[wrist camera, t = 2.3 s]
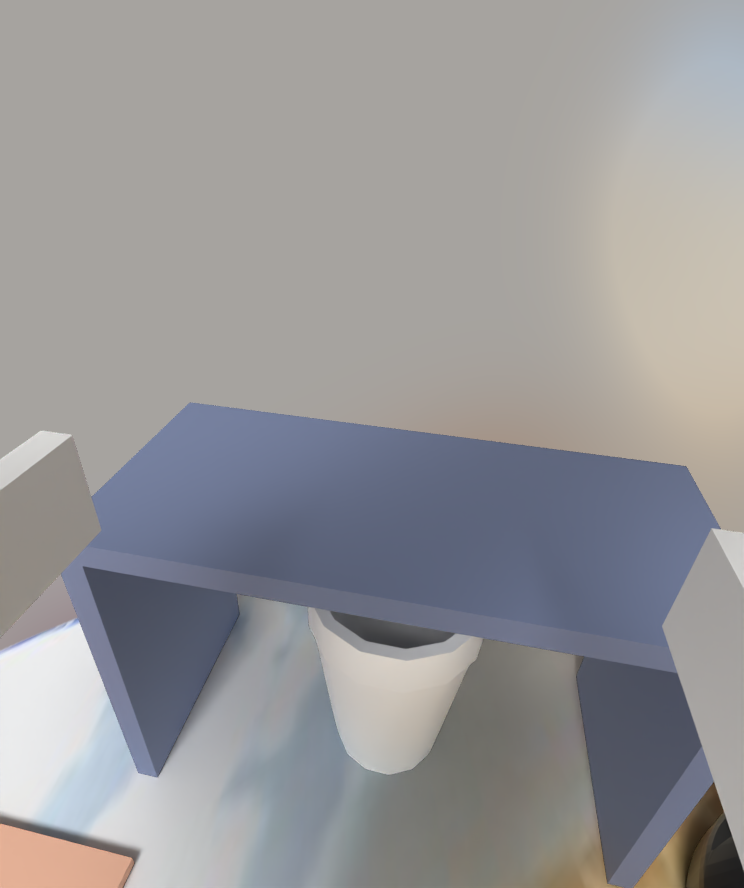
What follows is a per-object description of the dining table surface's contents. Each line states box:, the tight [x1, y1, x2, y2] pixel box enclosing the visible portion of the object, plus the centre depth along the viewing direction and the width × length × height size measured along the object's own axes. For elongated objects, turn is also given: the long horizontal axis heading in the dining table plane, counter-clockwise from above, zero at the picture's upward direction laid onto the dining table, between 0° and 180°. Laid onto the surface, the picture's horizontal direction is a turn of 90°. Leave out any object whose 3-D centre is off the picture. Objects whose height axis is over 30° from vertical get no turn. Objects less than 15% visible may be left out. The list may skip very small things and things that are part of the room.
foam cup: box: [308, 607, 484, 775], centre depth 31 cm, size 10×9×13 cm
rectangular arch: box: [61, 403, 721, 888], centre depth 29 cm, size 27×12×18 cm, turn 79°
